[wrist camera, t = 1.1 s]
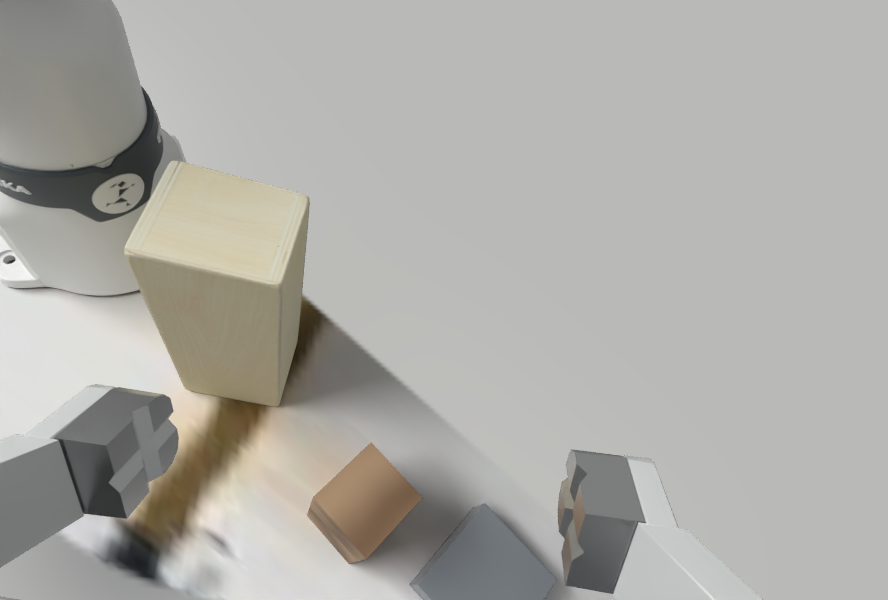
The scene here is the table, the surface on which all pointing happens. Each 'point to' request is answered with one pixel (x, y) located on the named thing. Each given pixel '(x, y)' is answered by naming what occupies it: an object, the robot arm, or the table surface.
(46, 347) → the table surface
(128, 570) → the table surface
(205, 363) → the tall pale wood block
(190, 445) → the table surface
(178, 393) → the table surface
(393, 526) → the walnut brick
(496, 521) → the base brick
